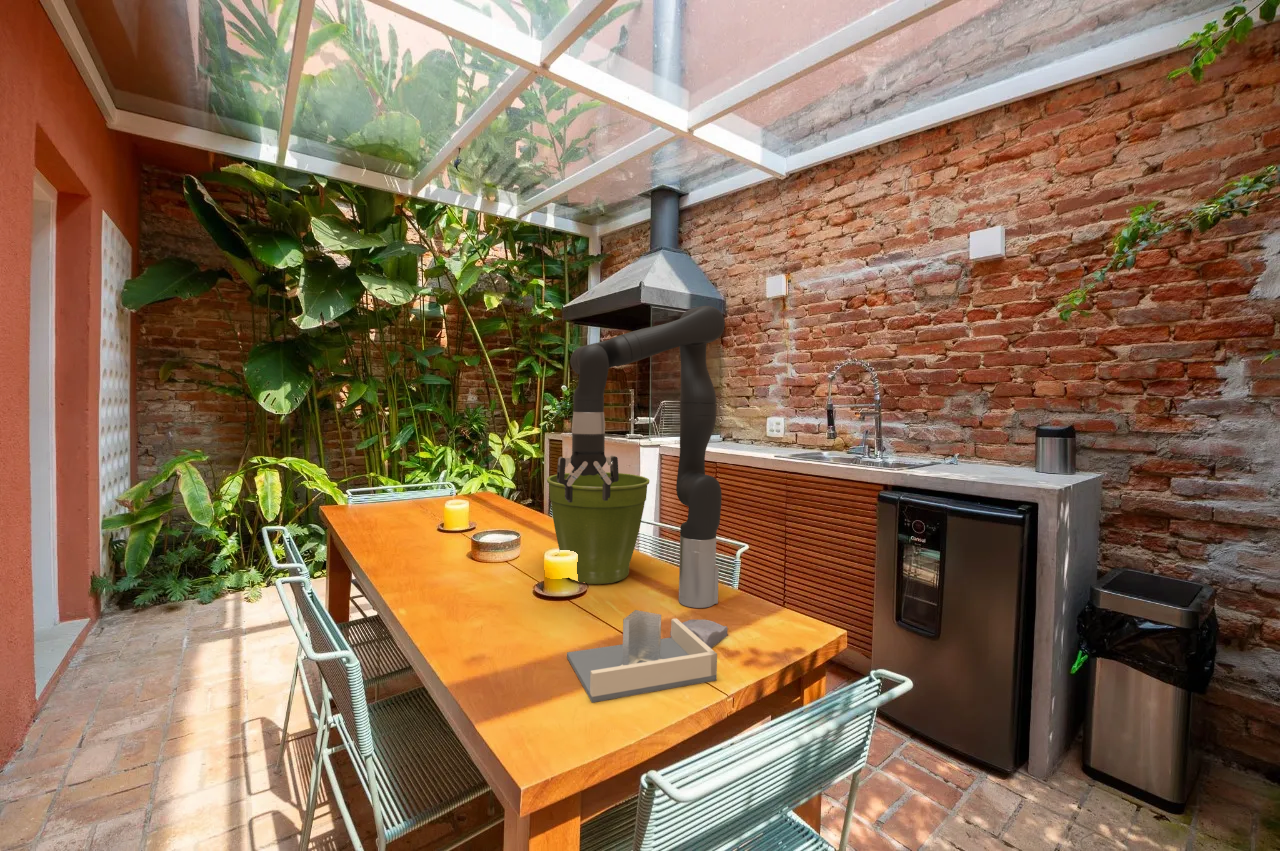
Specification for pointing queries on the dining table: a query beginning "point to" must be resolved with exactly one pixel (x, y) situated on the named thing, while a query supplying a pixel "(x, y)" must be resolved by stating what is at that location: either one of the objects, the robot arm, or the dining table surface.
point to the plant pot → (599, 524)
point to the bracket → (641, 637)
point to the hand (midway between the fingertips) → (587, 501)
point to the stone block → (707, 631)
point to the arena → (645, 667)
